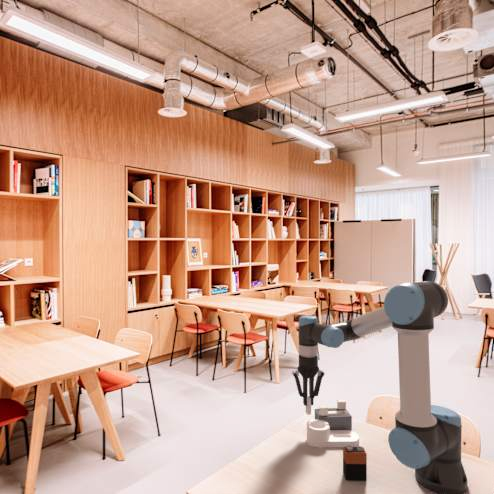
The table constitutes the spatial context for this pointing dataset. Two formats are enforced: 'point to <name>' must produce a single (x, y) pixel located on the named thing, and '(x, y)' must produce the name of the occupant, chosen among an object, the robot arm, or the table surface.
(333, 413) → the switch box
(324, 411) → the front tab
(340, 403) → the rear tab
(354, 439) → the bracket
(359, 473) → the battery
